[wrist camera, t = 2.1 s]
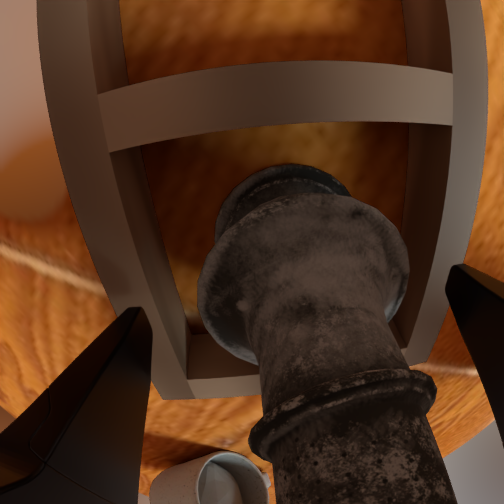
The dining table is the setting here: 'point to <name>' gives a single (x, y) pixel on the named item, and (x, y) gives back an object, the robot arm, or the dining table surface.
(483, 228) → the dining table surface
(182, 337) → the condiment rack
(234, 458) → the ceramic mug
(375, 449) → the salt shaker
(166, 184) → the dining table surface
